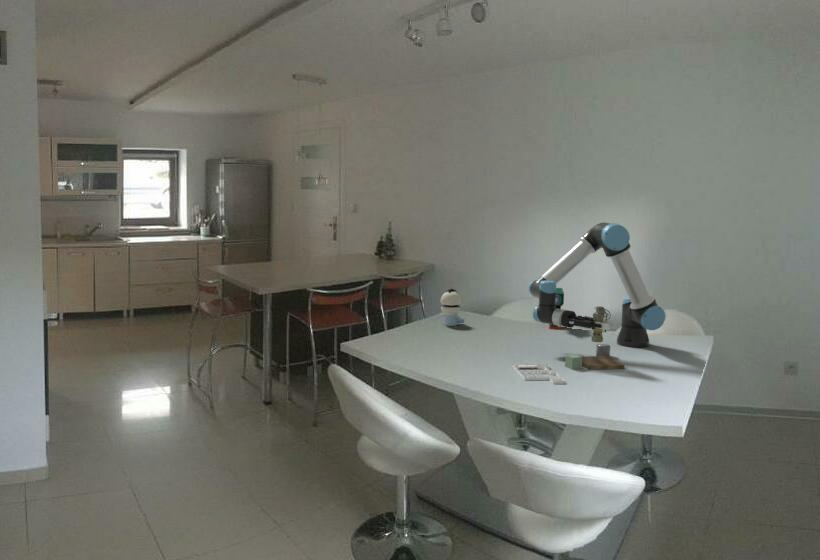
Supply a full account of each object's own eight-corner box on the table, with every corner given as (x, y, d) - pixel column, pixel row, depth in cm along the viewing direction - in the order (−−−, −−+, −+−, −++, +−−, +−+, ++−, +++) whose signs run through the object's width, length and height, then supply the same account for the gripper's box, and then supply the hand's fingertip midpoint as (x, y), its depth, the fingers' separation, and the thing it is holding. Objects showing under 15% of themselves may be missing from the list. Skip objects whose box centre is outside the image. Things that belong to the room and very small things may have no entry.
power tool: (562, 334, 354) (564, 296, 351) (548, 333, 355) (550, 296, 353) (561, 323, 385) (563, 288, 382) (549, 322, 386) (550, 287, 384)
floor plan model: (547, 368, 289) (548, 363, 289) (566, 384, 264) (566, 380, 264) (512, 368, 288) (512, 364, 287) (528, 385, 263) (528, 380, 263)
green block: (574, 365, 292) (575, 354, 291) (581, 368, 287) (582, 356, 287) (564, 366, 290) (565, 355, 289) (572, 369, 285) (572, 357, 285)
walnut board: (608, 359, 303) (608, 355, 303) (624, 368, 288) (624, 365, 287) (574, 360, 301) (574, 356, 301) (588, 369, 285) (588, 366, 285)
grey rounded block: (606, 354, 313) (606, 343, 312) (611, 357, 307) (612, 346, 306) (593, 354, 312) (594, 344, 311) (599, 357, 306) (599, 347, 305)
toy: (469, 325, 375) (470, 289, 373) (454, 328, 366) (455, 291, 364) (447, 320, 386) (448, 286, 384) (432, 323, 377) (433, 288, 374)
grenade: (589, 339, 296) (591, 305, 294) (604, 339, 297) (606, 305, 295) (595, 343, 289) (597, 308, 287) (610, 343, 290) (612, 308, 288)
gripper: (574, 324, 311) (621, 332, 295) (553, 329, 300) (601, 337, 283) (575, 308, 310) (622, 315, 294) (554, 312, 299) (602, 320, 282)
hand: (611, 326), depth 288 cm, fingers closed on grenade, 4 cm apart
